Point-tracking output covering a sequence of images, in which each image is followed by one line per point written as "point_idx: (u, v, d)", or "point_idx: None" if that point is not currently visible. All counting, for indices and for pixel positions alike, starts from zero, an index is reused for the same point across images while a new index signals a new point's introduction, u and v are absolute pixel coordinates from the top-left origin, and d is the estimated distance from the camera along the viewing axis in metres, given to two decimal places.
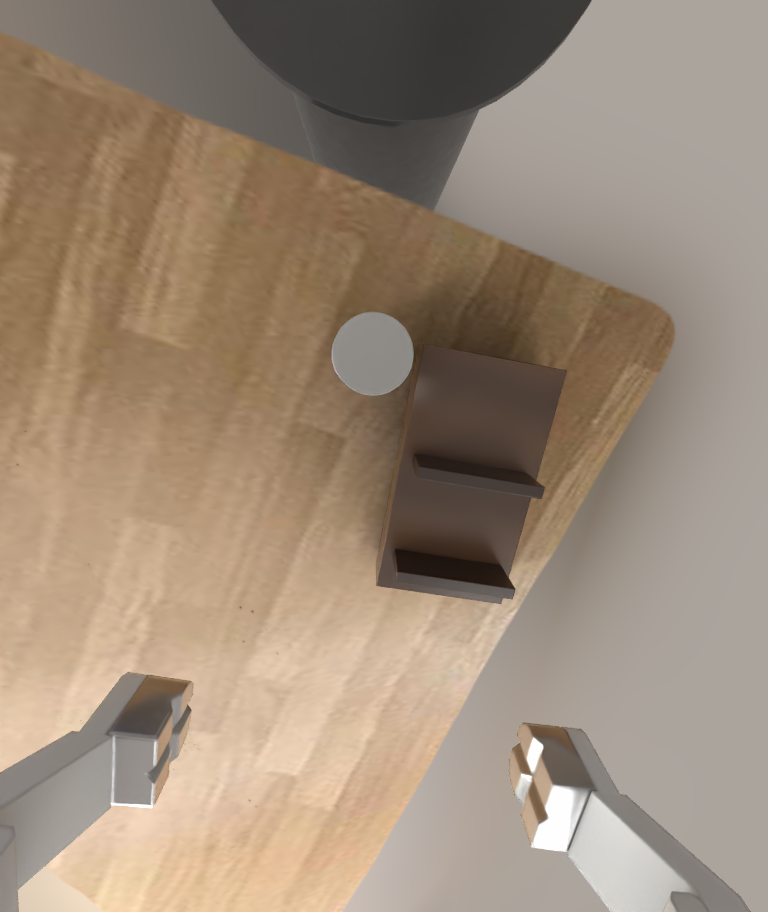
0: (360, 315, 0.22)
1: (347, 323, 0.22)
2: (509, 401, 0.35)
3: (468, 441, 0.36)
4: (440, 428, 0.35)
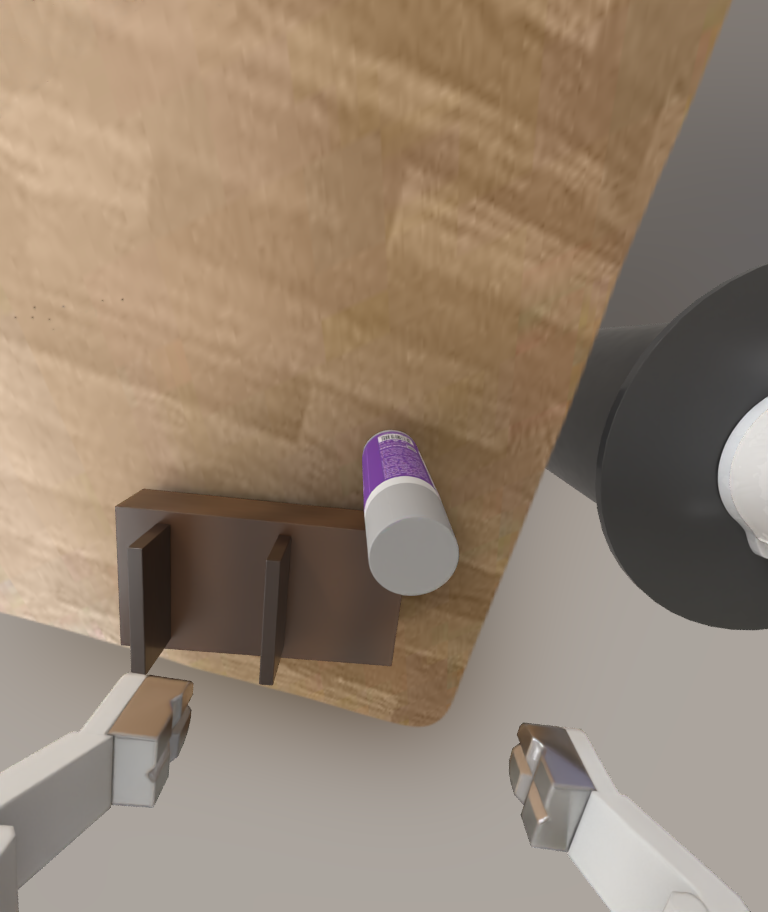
0: (455, 542, 0.20)
1: (446, 529, 0.20)
2: (357, 621, 0.34)
3: (310, 588, 0.33)
4: (322, 560, 0.32)
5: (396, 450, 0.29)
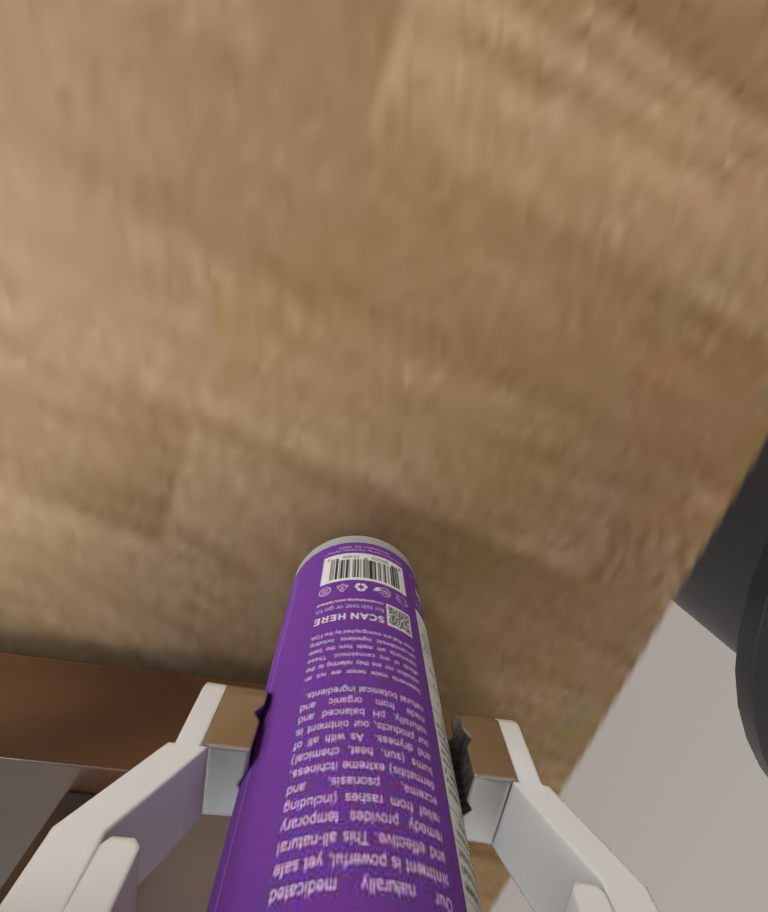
0: None
1: None
2: None
3: (151, 895, 0.14)
4: None
5: (352, 649, 0.10)
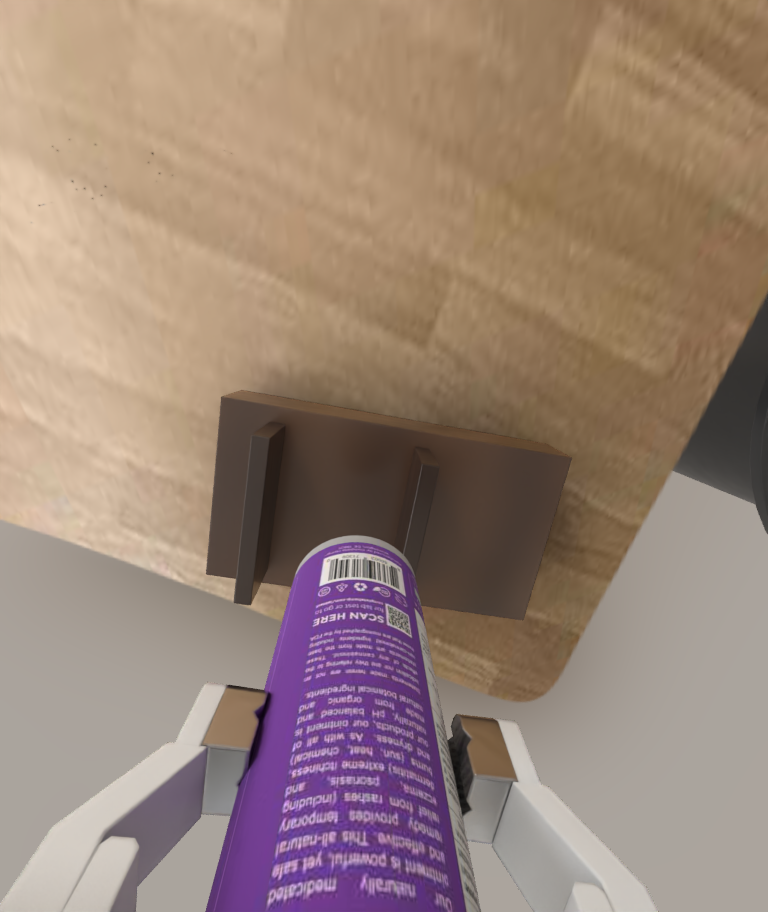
0: None
1: None
2: (491, 561, 0.28)
3: (443, 517, 0.27)
4: (462, 482, 0.27)
5: (352, 648, 0.10)
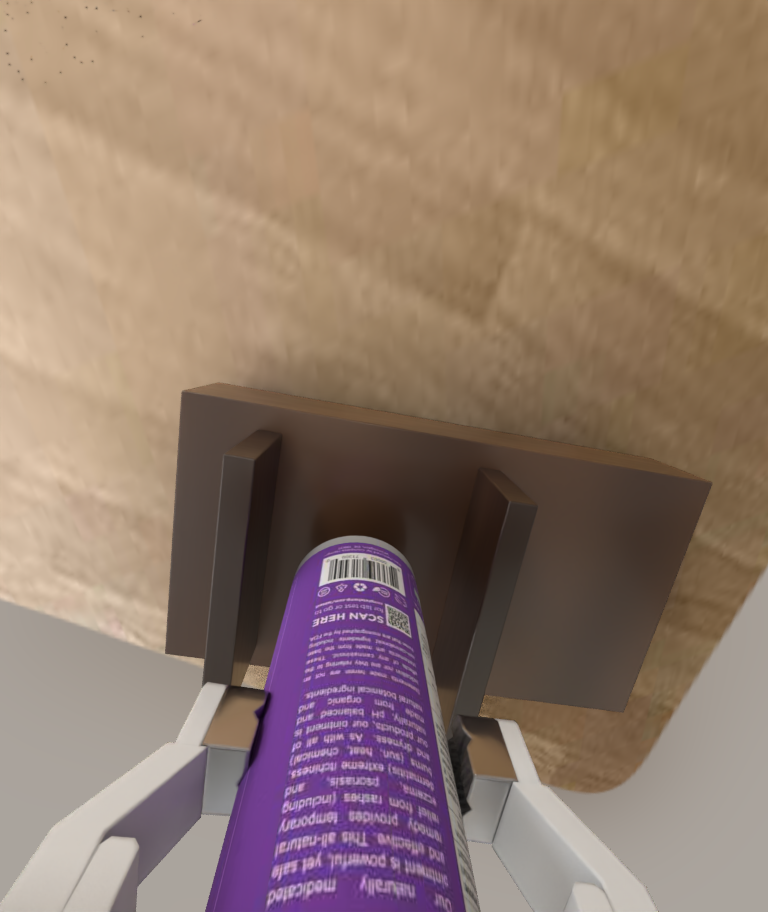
0: None
1: None
2: (584, 632, 0.19)
3: None
4: (547, 520, 0.18)
5: (351, 649, 0.10)
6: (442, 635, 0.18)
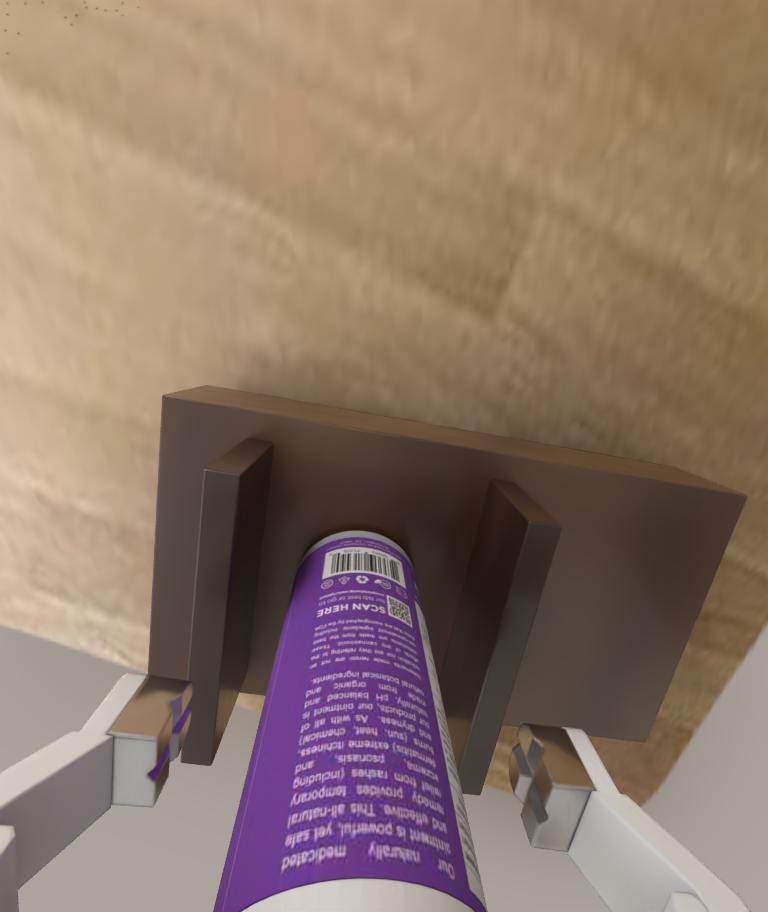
0: None
1: None
2: (604, 658, 0.18)
3: None
4: (565, 536, 0.16)
5: (355, 637, 0.10)
6: (450, 662, 0.17)
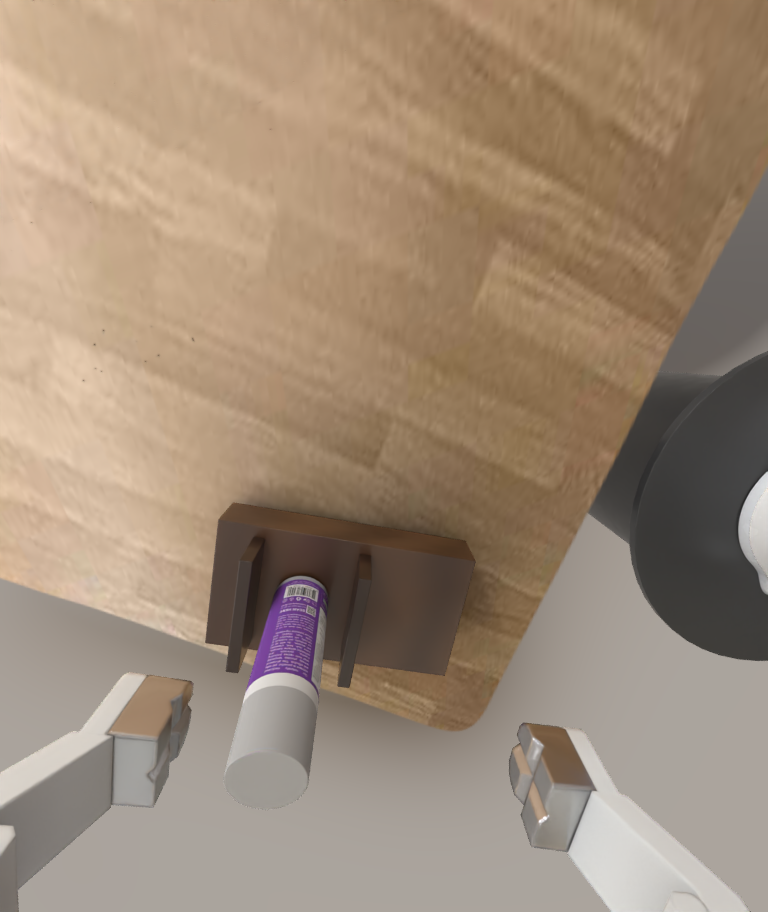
0: (304, 770, 0.22)
1: (295, 761, 0.22)
2: (419, 633, 0.38)
3: (382, 602, 0.37)
4: (395, 578, 0.36)
5: (291, 620, 0.30)
6: (344, 634, 0.37)
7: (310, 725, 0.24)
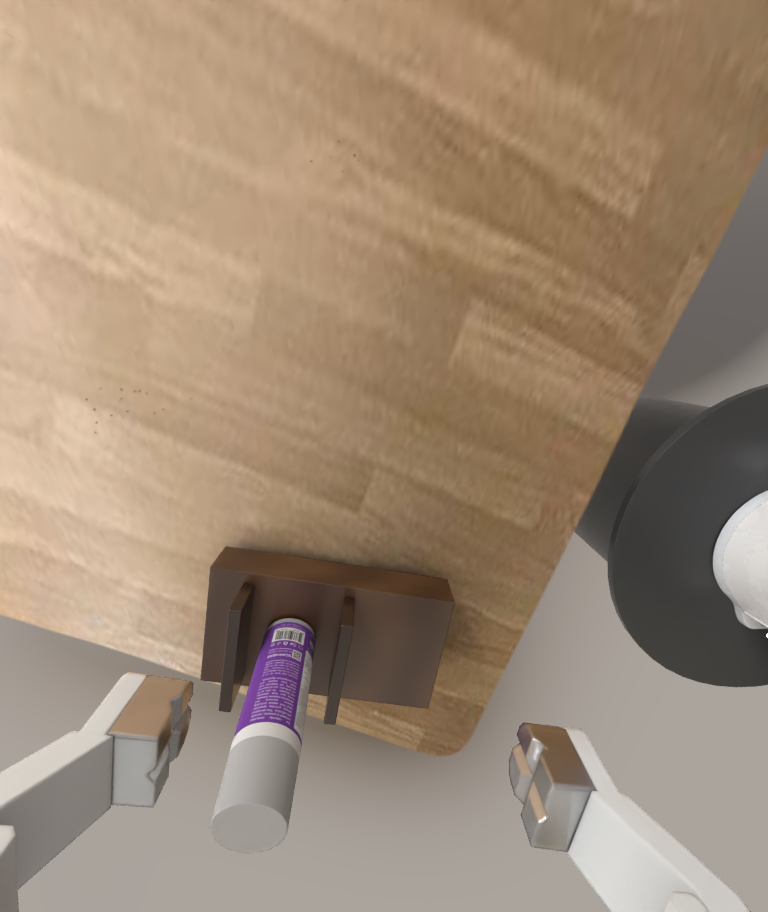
0: (283, 819, 0.24)
1: (275, 811, 0.24)
2: (403, 670, 0.40)
3: (366, 641, 0.39)
4: (378, 619, 0.38)
5: (277, 666, 0.33)
6: (331, 672, 0.39)
7: (291, 773, 0.26)
